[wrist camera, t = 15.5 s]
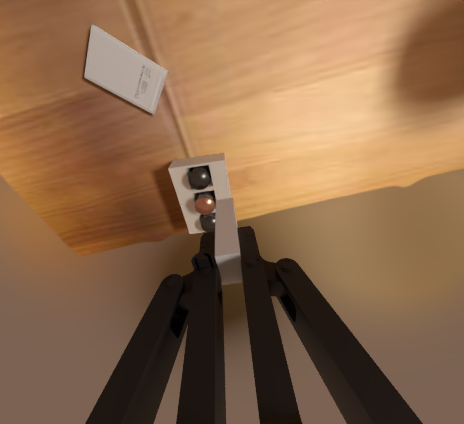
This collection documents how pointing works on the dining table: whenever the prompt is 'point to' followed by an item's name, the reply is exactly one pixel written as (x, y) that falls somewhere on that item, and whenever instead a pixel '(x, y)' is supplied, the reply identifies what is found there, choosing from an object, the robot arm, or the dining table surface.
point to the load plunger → (205, 203)
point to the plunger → (208, 222)
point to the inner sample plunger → (199, 177)
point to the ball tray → (189, 195)
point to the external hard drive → (124, 71)
